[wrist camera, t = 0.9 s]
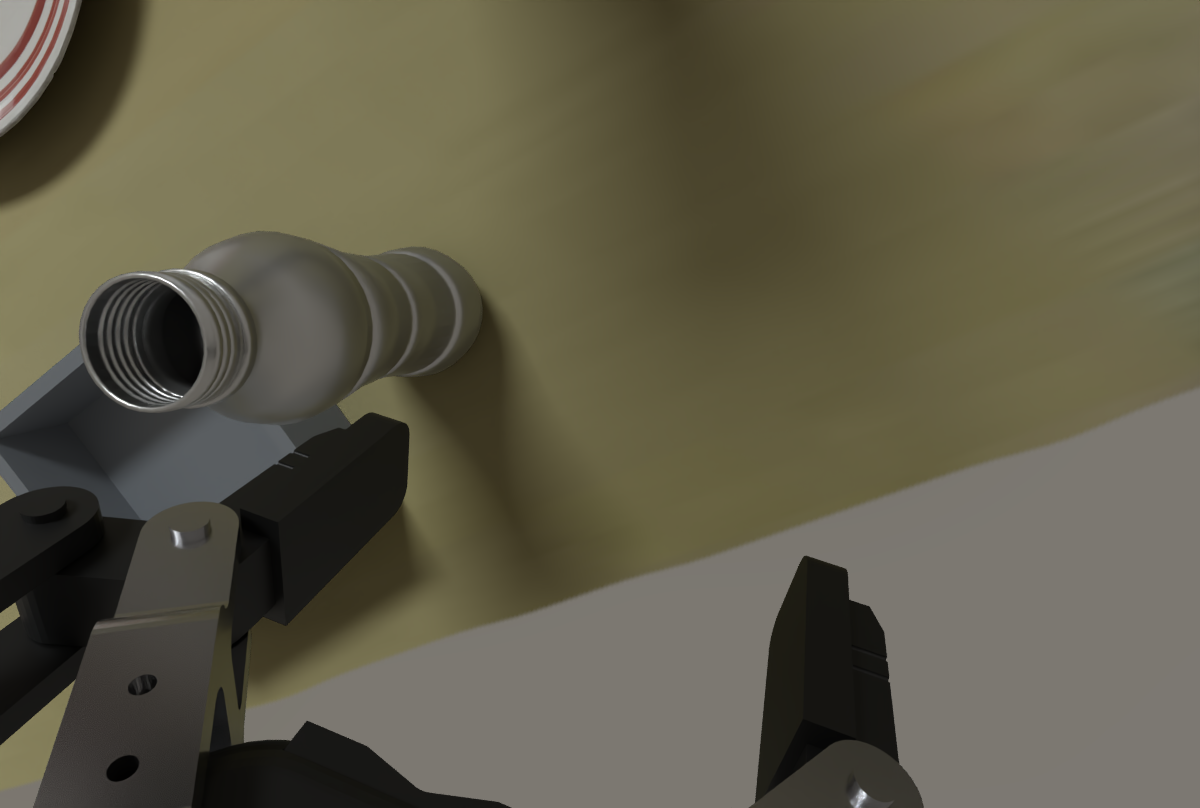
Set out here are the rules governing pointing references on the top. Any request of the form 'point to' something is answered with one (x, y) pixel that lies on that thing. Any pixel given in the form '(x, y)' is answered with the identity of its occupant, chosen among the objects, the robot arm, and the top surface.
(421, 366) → the plastic bottle
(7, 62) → the dinner plate
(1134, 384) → the top surface
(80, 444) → the tray
